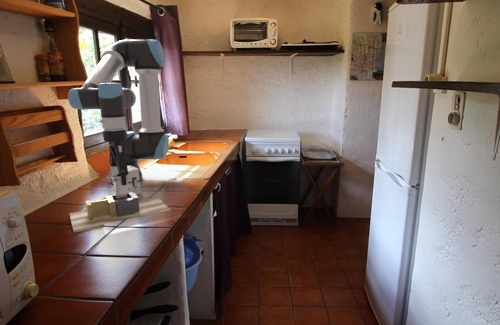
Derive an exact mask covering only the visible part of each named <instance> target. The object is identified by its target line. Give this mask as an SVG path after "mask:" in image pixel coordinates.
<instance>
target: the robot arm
mask: <svg viewBox="0 0 500 325" xmlns="http://www.w3.org/2000/svg"><path fill="white" fill-rule="evenodd" d="M164 52H165V51H164V49H163V47H162V44H161V42H160V41H159V40H158V39H150V38H146V39H145V38H144V39H142V38H138V39H122V40H118V41H117V42H113V44H111V45H109V46H108V47H107V48H106V49H105V50H104V51H103V52H102V54H101V56H100V58H101V60H100V61H99V63H98V64H97V65H96V66H95V68H93V71H92V72H91V74H90V75H89V76H88V78H87V79H86V80H85V81H84V83H83V84H82V86H81V87H76V88H74V87H73V88H71V89H69V91H68V93H67V100H68V103H69V105H70V107H71V108H73V109H75V110H83V111H84V110H100V117H101V119H100V120H99V123H100V124H101V125H102V129H103V130H102V136H103V141H104V142H106V143H108V148H109V149H108V151H109V153H108V154H109V157H108V158H109V161H108V162H109V165H110V173H109V176H108V178H109V180H108V181H109V183H110V184H112V185H114V182H113V180H112V179H111V176H115V175H117V177H118V178H119V188H120V194H127V193H129V189H128V179H127V175H128V174H129V172H128V169H127V166H132V167H135V168H138V169H139V178H140V182H141V181H143V180H144V179H143V176H144V175H143V173H142V170H141V167H140V165H139V164H138V160H162V159H163V160H164V159H165V158H166V157H167V155H168V151H169V144H170V140H169V135H168V134H166V133H165V130H164V129H163V127H162V125H161V123H162V122H161V107H160V105H161V104H160V86H159V85H160V84H159V74H160V73H161V72H162V67H165V65H166V61H165V58H166V57H165V53H164ZM126 67H134V72H136V74H138V86H139V106H140V119H141V120H140V122H141V128H139V130H138V134H136V132H135V131H133V130H131V131H130V130H129V131H127V130H126V128H127V122H126V115H125V110H128V109H130V108H132V107H133V106H134V105H135V104H136V101H137V96H136V94H135V92H134V91H133V90H132V89H130V88H127V87H123V86H122V83H120V82H112V81H113V79H114V78H115V76H116V75H117V73H118V71H121V70H122V69H123V68H126ZM122 171H124V172H122Z"/></svg>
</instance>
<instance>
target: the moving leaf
mask: <svg viewBox="0 0 500 325" xmlns="http://www.w3.org/2000/svg"><path fill="white" fill-rule="evenodd" d="M104 198H105V199H98V200H93V201H90V200H89V199H88V200H85V208H86V210H87V216H88V219H89V220H93V217H98V216H103V215H108V214H109V215H110V217H115V216H117V214H116V204H115V200H114V199H113V197H112V194H111V195H106V196H104Z"/></svg>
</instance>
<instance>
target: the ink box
mask: <svg viewBox="0 0 500 325" xmlns="http://www.w3.org/2000/svg"><path fill="white" fill-rule="evenodd" d="M127 169H128V172H129V174H128V175H127V179H128V189H129V192H134V193H135V194H136V195H137V196H138V195H141V181H140V178H139V169H138V168H135V167H132V166H127ZM122 172H124V171H122Z"/></svg>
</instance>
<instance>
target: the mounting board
mask: <svg viewBox="0 0 500 325" xmlns="http://www.w3.org/2000/svg"><path fill="white" fill-rule="evenodd" d="M139 210H140V212H136V213H135V214H132V215H127V216H122V217H118V216H115V217H110V215H109V214H108V215H103V216H98V217H93V220H89V219H88V216H87V209H86V210H81V211H77V212H75V211H74V212H70V213H69V218H70V223H71V226H72V231H73V233H79V232H84V231H88V230H93V229H99V228H103V227H105V225H106V224H110V223H114V222H118V221H125V220H129V219H135V218H138V217H144V216H149V215H153V214H158V213H162V212H167V211H171V209H170V208H169V207H168V205H166V203H164V202H163V200H161V198H159V197H152V198H147V199H141V200H139ZM116 214H117V210H116Z"/></svg>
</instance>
